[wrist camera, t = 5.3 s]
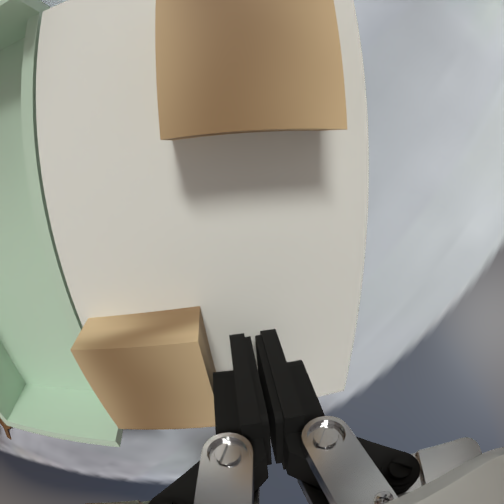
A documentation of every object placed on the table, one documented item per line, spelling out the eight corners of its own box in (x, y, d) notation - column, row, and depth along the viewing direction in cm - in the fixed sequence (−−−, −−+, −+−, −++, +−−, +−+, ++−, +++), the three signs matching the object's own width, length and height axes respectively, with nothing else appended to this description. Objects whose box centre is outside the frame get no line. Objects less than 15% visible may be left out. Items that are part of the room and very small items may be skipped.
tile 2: (200, 305, 10) (198, 341, 8) (220, 390, 12) (223, 425, 10) (88, 317, 10) (70, 349, 8) (126, 395, 11) (118, 428, 10)
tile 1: (308, 6, 7) (330, -19, 5) (319, 130, 8) (347, 129, 7) (166, 10, 6) (156, -19, 4) (172, 140, 8) (160, 139, 6)
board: (325, 2, 9) (348, -22, 6) (328, 359, 15) (343, 390, 13) (68, 29, 7) (42, 11, 5) (133, 381, 14) (126, 414, 12)
